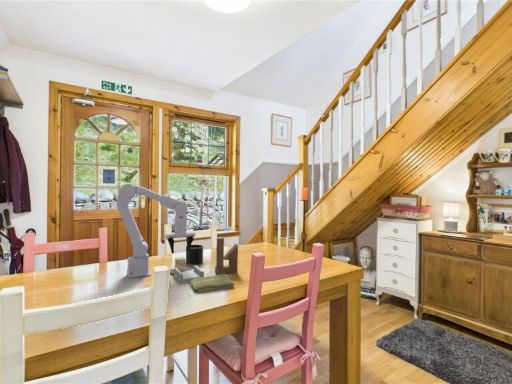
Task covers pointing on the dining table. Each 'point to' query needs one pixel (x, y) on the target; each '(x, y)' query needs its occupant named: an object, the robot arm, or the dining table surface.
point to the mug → (194, 254)
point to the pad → (181, 271)
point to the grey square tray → (188, 274)
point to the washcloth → (211, 283)
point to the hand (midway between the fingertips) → (180, 252)
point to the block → (180, 263)
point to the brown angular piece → (226, 258)
